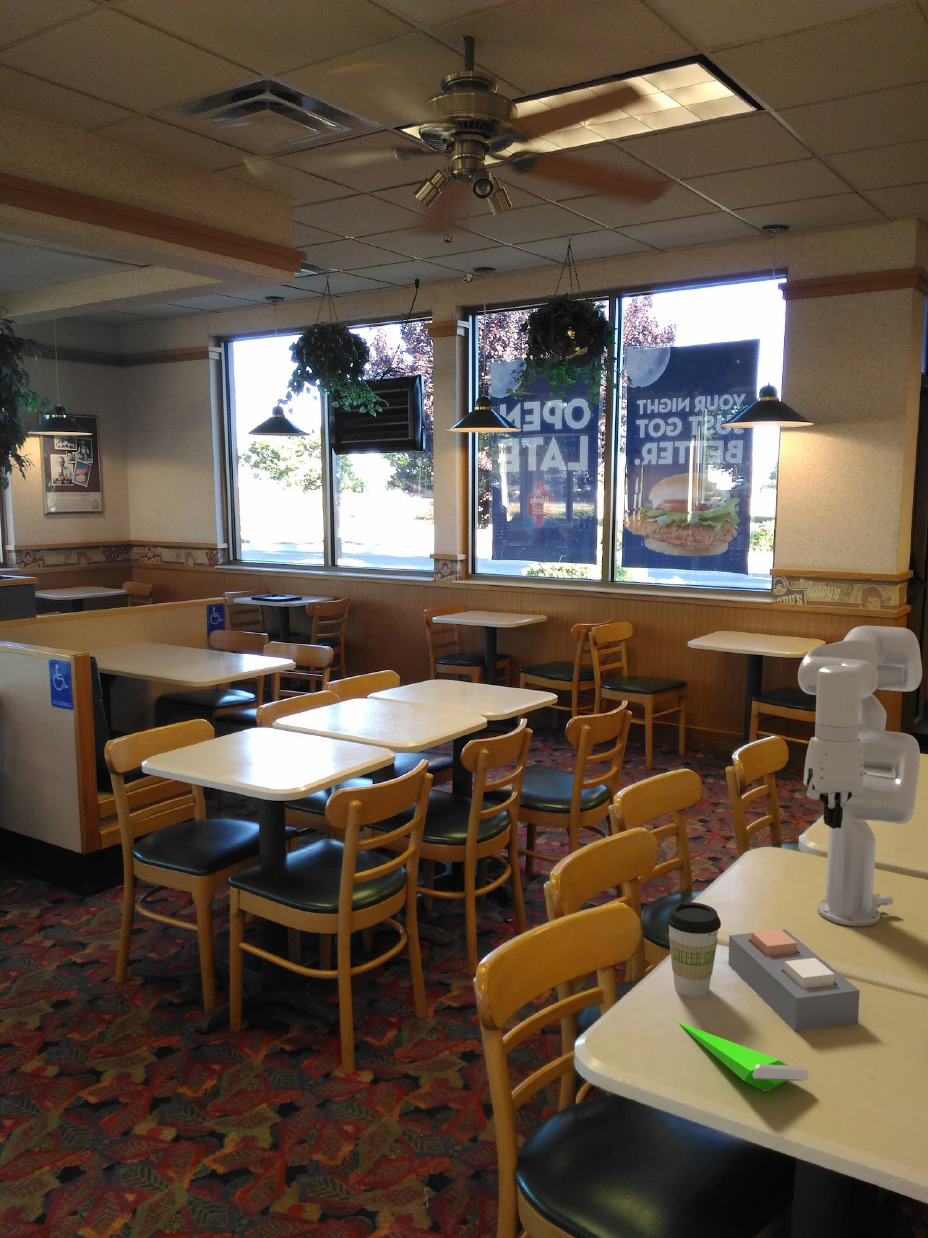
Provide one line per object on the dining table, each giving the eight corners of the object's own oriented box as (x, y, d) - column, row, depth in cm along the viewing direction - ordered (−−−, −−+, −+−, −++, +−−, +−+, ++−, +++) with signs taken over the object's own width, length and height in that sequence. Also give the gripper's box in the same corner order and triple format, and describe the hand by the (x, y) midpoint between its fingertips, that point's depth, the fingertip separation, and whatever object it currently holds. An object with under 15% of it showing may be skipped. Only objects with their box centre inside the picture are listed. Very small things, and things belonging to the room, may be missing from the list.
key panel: (784, 958, 189) (785, 929, 188) (858, 1023, 166) (859, 990, 165) (728, 964, 187) (729, 935, 186) (795, 1031, 163) (796, 998, 163)
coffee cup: (688, 1008, 171) (690, 928, 169) (653, 983, 180) (655, 907, 178) (730, 994, 175) (732, 916, 174) (694, 971, 184) (696, 896, 182)
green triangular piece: (646, 1041, 164) (752, 1099, 142) (651, 1008, 165) (757, 1061, 143) (696, 1044, 169) (806, 1101, 147) (701, 1012, 170) (811, 1064, 148)
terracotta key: (778, 958, 185) (780, 929, 185) (795, 973, 179) (796, 943, 179) (750, 961, 184) (751, 932, 183) (766, 976, 178) (767, 946, 177)
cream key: (813, 989, 174) (815, 958, 173) (832, 1006, 168) (834, 974, 167) (783, 993, 172) (784, 961, 172) (801, 1010, 167) (803, 977, 166)
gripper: (860, 724, 184) (855, 815, 187) (789, 729, 181) (786, 822, 184) (884, 734, 177) (880, 829, 179) (811, 740, 174) (807, 836, 176)
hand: (832, 825), depth 182 cm, fingers closed
